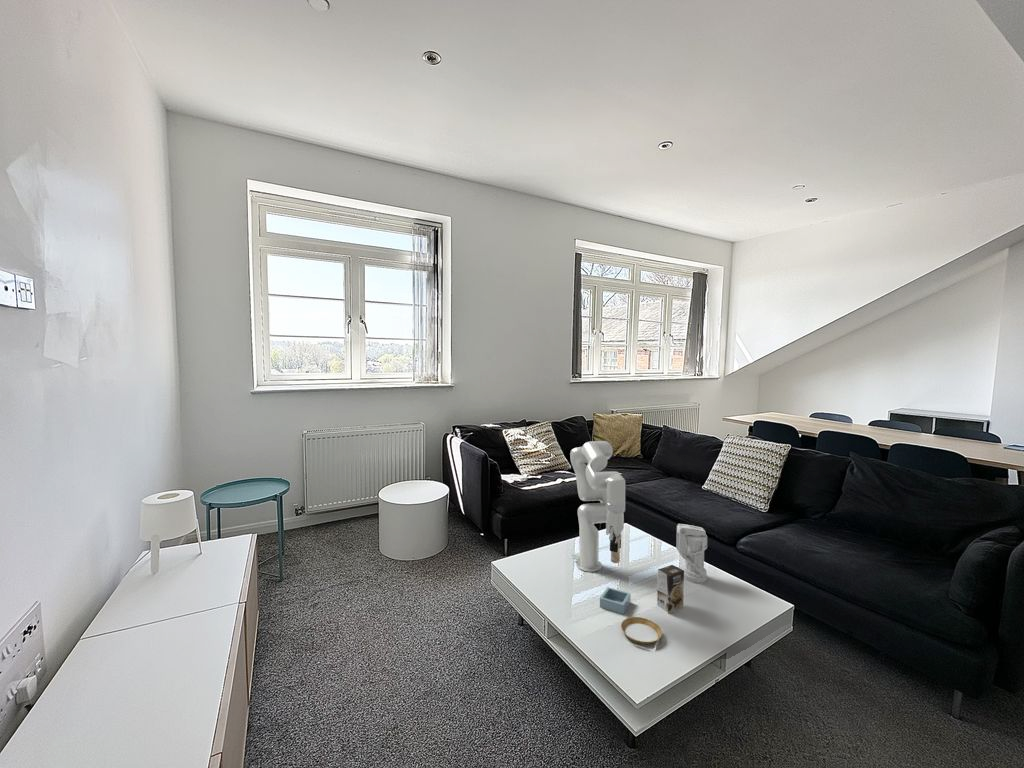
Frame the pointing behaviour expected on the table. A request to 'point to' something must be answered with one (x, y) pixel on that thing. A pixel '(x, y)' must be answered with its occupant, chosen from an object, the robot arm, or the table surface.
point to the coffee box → (670, 588)
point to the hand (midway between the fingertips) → (615, 549)
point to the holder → (615, 600)
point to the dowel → (615, 556)
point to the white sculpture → (692, 551)
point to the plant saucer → (641, 621)
